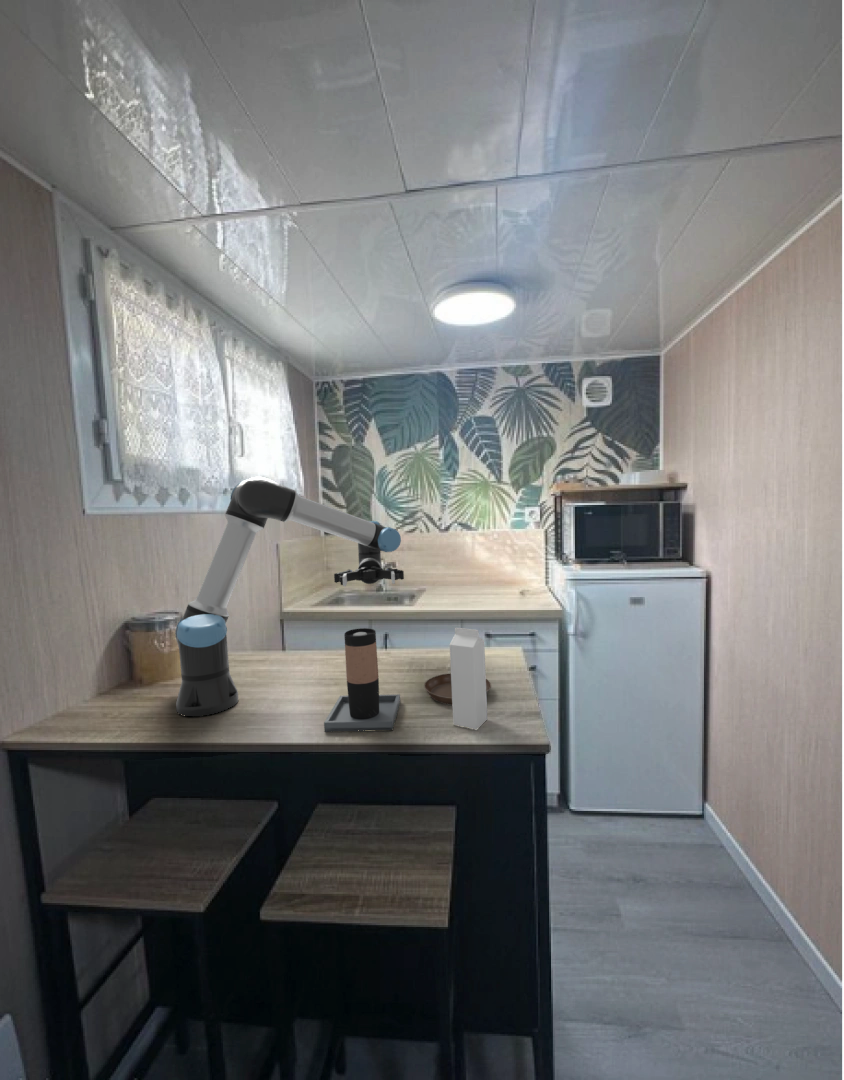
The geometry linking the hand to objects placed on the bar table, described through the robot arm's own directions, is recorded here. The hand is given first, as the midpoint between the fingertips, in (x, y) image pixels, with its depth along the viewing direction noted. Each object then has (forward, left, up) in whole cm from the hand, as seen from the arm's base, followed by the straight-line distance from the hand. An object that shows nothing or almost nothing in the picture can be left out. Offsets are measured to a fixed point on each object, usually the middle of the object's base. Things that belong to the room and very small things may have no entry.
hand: (368, 580), depth 134 cm
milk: (+35, +2, -31) cm, 46 cm away
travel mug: (+14, -13, -30) cm, 35 cm away
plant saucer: (+21, +12, -31) cm, 39 cm away
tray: (+14, -13, -31) cm, 36 cm away
